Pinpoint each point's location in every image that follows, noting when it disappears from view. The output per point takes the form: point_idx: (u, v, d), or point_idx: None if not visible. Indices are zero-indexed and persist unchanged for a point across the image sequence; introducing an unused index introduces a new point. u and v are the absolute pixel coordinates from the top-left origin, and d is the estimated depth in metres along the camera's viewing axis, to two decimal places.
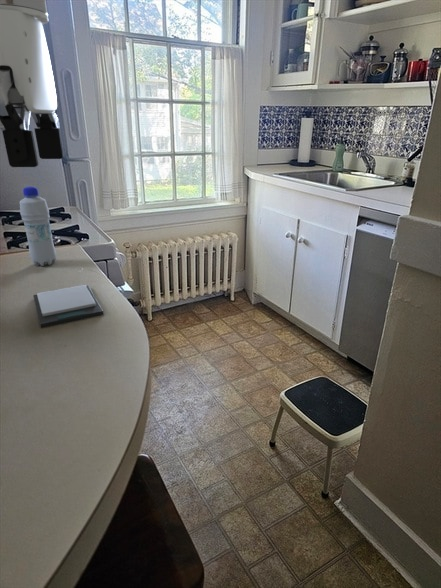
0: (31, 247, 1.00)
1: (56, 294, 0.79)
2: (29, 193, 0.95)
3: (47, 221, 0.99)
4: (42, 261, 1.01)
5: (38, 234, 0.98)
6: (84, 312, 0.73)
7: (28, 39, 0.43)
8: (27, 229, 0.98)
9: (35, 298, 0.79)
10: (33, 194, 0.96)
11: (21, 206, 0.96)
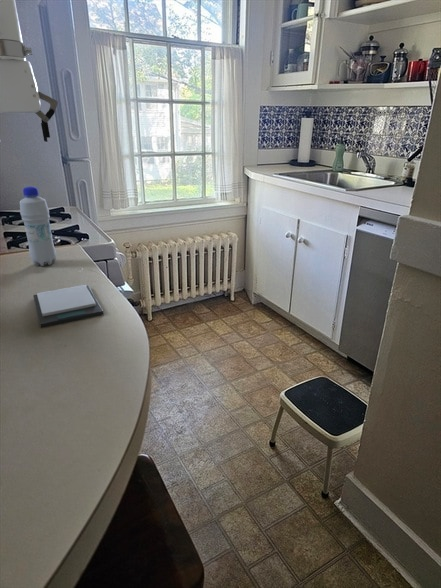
0: (31, 247, 1.00)
1: (56, 294, 0.79)
2: (29, 193, 0.95)
3: (47, 221, 0.99)
4: (42, 261, 1.01)
5: (38, 234, 0.98)
6: (84, 312, 0.73)
7: None
8: (27, 229, 0.98)
9: (35, 298, 0.79)
10: (33, 194, 0.96)
11: (21, 206, 0.96)
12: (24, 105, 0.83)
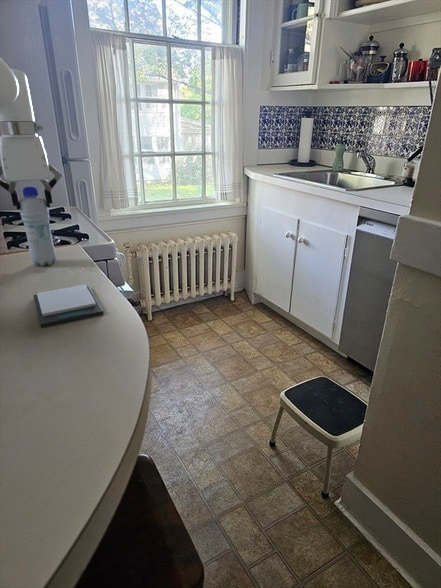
0: (31, 247, 1.00)
1: (56, 294, 0.79)
2: (29, 193, 0.95)
3: (47, 221, 0.99)
4: (42, 261, 1.01)
5: (37, 234, 0.98)
6: (84, 312, 0.73)
7: (8, 149, 0.89)
8: (27, 229, 0.98)
9: (35, 298, 0.79)
10: (33, 194, 0.96)
11: (21, 206, 0.96)
12: (35, 174, 0.94)
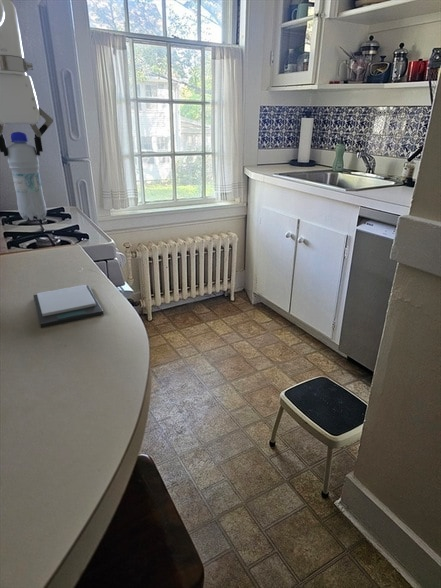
0: (19, 199, 0.93)
1: (56, 294, 0.79)
2: (17, 138, 0.89)
3: (37, 171, 0.93)
4: (31, 214, 0.94)
5: (26, 184, 0.92)
6: (84, 312, 0.73)
7: None
8: (15, 178, 0.91)
9: (35, 298, 0.79)
10: (21, 139, 0.89)
11: (8, 152, 0.89)
12: (24, 117, 0.87)
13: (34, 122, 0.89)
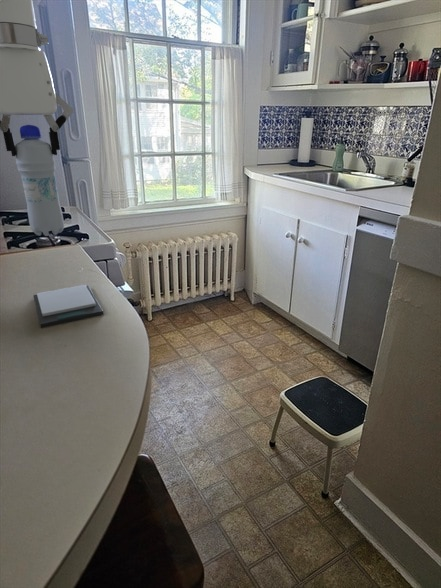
0: (31, 210, 0.74)
1: (56, 294, 0.79)
2: (28, 133, 0.69)
3: (53, 174, 0.74)
4: (45, 229, 0.75)
5: (40, 191, 0.72)
6: (84, 312, 0.73)
7: None
8: (26, 184, 0.72)
9: (35, 298, 0.79)
10: (34, 135, 0.70)
11: (17, 151, 0.70)
12: (37, 105, 0.68)
13: (50, 112, 0.69)
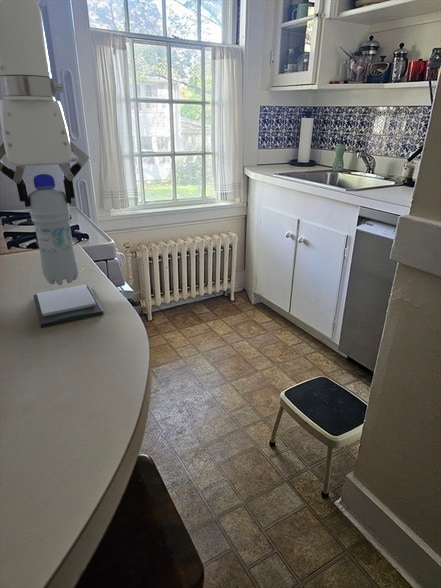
0: (45, 260, 0.71)
1: (56, 294, 0.79)
2: (42, 183, 0.67)
3: (67, 223, 0.71)
4: (59, 279, 0.73)
5: (54, 241, 0.70)
6: (84, 312, 0.73)
7: (13, 117, 0.61)
8: (39, 234, 0.70)
9: (35, 298, 0.79)
10: (48, 185, 0.67)
11: (31, 202, 0.67)
12: (52, 156, 0.65)
13: (64, 162, 0.67)
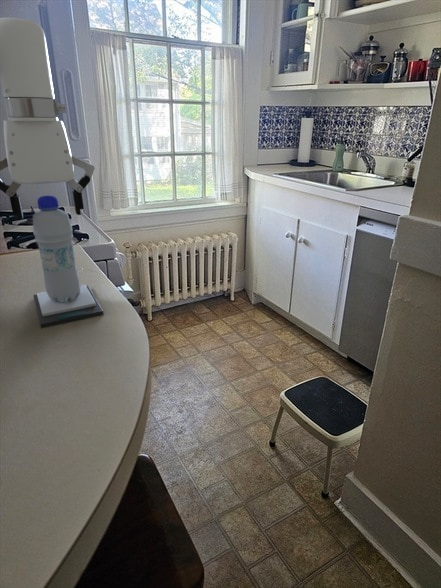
0: (48, 278, 0.73)
1: None
2: (46, 205, 0.68)
3: (70, 243, 0.72)
4: (62, 297, 0.74)
5: (57, 261, 0.71)
6: (84, 312, 0.73)
7: (17, 138, 0.62)
8: (43, 254, 0.71)
9: (35, 298, 0.79)
10: (52, 206, 0.69)
11: (35, 223, 0.69)
12: (54, 174, 0.67)
13: (67, 180, 0.68)
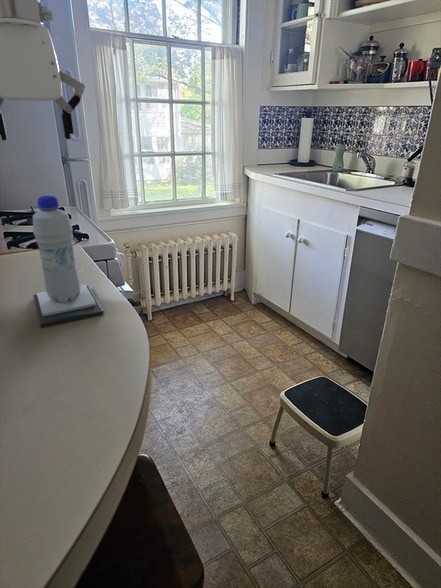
0: (48, 278, 0.73)
1: None
2: (46, 205, 0.68)
3: (70, 243, 0.72)
4: (62, 297, 0.74)
5: (57, 261, 0.71)
6: (84, 312, 0.73)
7: None
8: (43, 254, 0.71)
9: (35, 298, 0.79)
10: (52, 206, 0.69)
11: (35, 223, 0.69)
12: (41, 89, 0.61)
13: (54, 97, 0.63)
